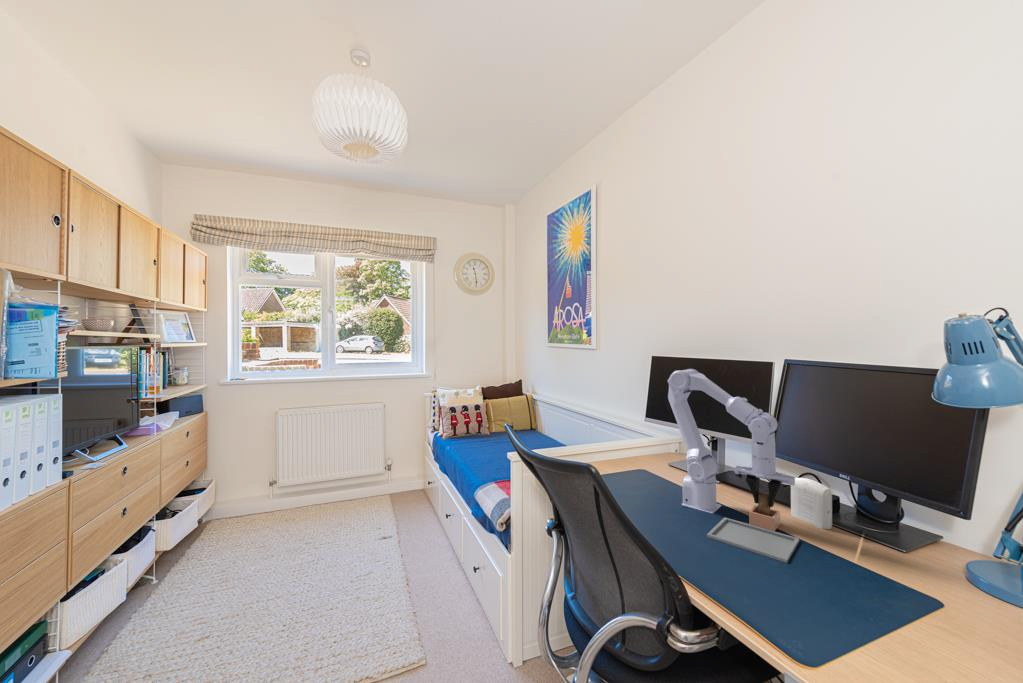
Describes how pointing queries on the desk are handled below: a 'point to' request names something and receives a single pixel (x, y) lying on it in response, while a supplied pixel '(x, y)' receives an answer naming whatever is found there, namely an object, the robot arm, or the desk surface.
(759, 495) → the pin
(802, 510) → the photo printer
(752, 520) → the tan open box
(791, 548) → the tray
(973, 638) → the desk surface
